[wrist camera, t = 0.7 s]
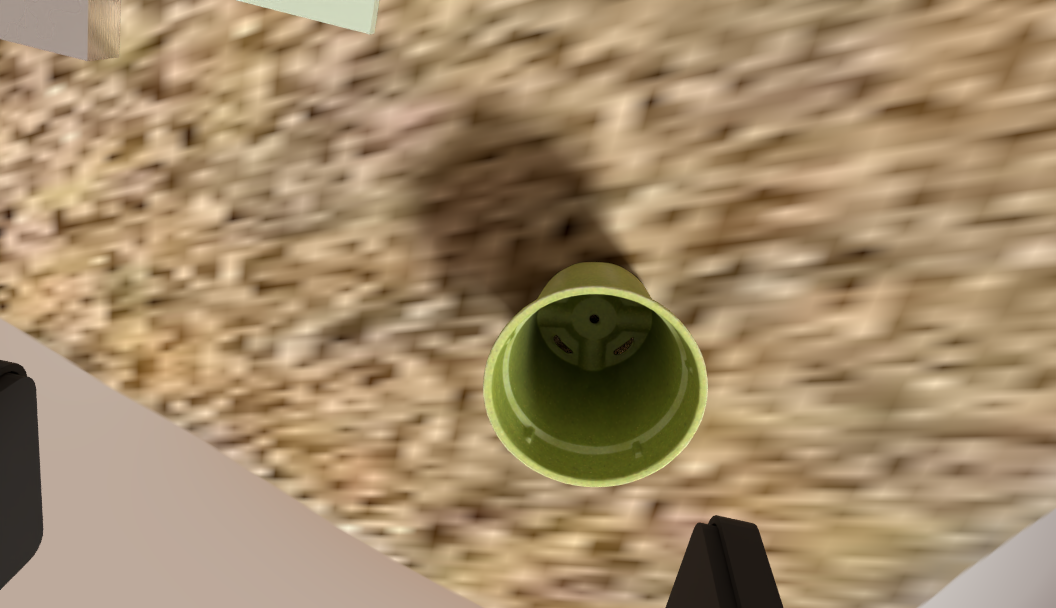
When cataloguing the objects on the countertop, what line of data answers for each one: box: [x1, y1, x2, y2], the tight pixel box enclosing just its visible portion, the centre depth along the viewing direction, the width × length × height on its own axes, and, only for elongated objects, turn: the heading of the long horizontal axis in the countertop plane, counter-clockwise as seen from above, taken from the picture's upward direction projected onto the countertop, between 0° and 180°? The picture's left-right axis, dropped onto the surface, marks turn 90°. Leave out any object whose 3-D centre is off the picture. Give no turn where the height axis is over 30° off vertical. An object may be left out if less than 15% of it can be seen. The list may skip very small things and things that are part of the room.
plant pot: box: [483, 262, 708, 487], centre depth 36 cm, size 9×9×9 cm
